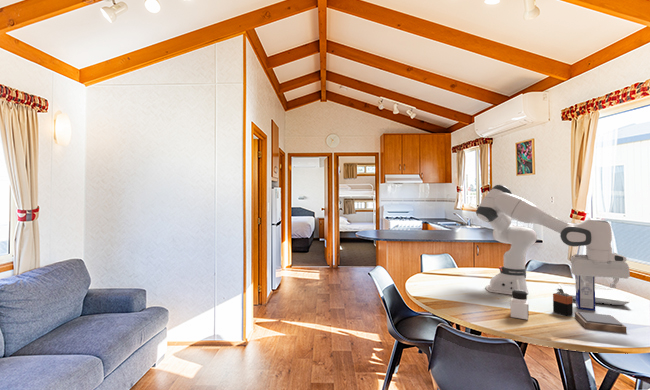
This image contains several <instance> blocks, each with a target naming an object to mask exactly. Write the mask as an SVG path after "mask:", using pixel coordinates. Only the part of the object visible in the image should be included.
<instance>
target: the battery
mask: <svg viewBox="0 0 650 390" xmlns="http://www.w3.org/2000/svg"><path fill="white" fill-rule="evenodd" d="M573 301H574V300H573V299H572V296H570V295H569V294H567V293H564V292H563V293H561V291H556V293H553V294H552V309H553V310H552V312H553V313H556V314H559V315H562V316H565V317H570V316H573V315H574V313H573V312H574V310H573V309H574V306H573V305H574V304H573Z"/></svg>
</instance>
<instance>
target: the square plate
mask: <svg viewBox="0 0 650 390" xmlns="http://www.w3.org/2000/svg"><path fill="white" fill-rule="evenodd" d="M557 285H558V286H559V287H560V289H561V290H562V291H563V293H567V294H569V295H570V296H572V300H573V301H576V284H570V283H557ZM595 302H596V303H595V304H597V303H598V304H602V303H604V305H610V304H612V305H614V306H616V305H618V306H619V305H620V306H624V305H628V304H629V303H630V300H628V299H627V298H625V296H624V295H622V294H621V293H620V292H619V291H617V290H616V289H615V288H610V287H608V288H607V287H601V286H595ZM612 305H611V306H612Z"/></svg>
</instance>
